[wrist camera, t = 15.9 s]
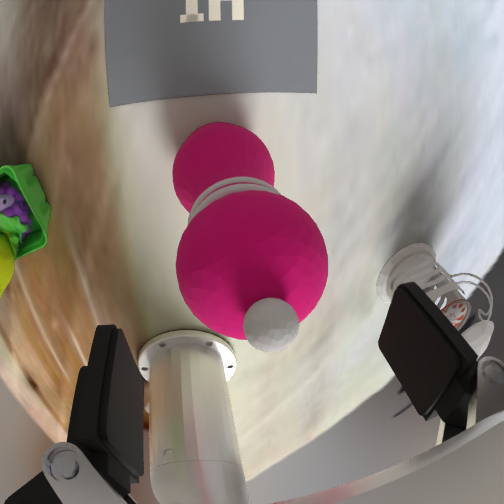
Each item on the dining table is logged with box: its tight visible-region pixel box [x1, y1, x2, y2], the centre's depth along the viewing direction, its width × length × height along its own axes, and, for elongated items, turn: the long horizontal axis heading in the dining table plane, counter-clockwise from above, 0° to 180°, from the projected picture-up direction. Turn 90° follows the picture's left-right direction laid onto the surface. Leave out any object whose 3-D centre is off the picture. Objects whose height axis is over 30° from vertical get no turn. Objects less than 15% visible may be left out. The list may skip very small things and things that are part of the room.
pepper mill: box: [173, 122, 328, 353], centre depth 17 cm, size 7×7×20 cm
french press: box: [376, 243, 494, 361], centre depth 27 cm, size 10×12×25 cm
